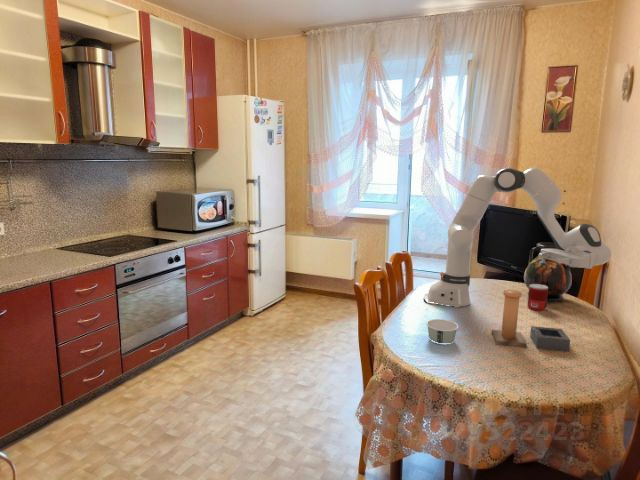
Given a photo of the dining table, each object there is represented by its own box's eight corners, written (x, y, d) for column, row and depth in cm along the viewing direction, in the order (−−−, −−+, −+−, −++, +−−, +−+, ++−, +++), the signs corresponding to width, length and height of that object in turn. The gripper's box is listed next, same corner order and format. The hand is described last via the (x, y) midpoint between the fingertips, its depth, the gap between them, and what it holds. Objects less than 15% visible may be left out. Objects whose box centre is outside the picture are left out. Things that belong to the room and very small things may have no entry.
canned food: (548, 311, 203) (551, 288, 201) (531, 311, 203) (534, 288, 201) (541, 305, 210) (543, 283, 208) (524, 305, 211) (526, 283, 208)
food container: (458, 348, 163) (460, 331, 161) (426, 345, 165) (426, 329, 164) (455, 335, 174) (457, 320, 173) (425, 333, 177) (426, 317, 175)
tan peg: (500, 338, 168) (505, 293, 164) (498, 332, 174) (502, 289, 171) (518, 340, 166) (523, 295, 163) (515, 333, 172) (519, 290, 169)
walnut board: (495, 344, 166) (495, 340, 166) (491, 333, 177) (491, 329, 176) (526, 347, 164) (526, 343, 163) (520, 335, 174) (520, 332, 174)
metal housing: (536, 348, 163) (537, 337, 162) (530, 336, 173) (531, 326, 173) (568, 351, 160) (570, 340, 159) (560, 339, 171) (561, 328, 170)
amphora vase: (515, 297, 222) (520, 244, 217) (531, 289, 237) (536, 238, 232) (561, 308, 207) (567, 250, 202) (575, 298, 222) (581, 244, 217)
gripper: (556, 244, 191) (530, 245, 187) (597, 254, 171) (569, 256, 168) (555, 258, 192) (529, 260, 188) (595, 269, 173) (567, 272, 169)
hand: (548, 258), depth 178 cm, fingers open, 8 cm apart
